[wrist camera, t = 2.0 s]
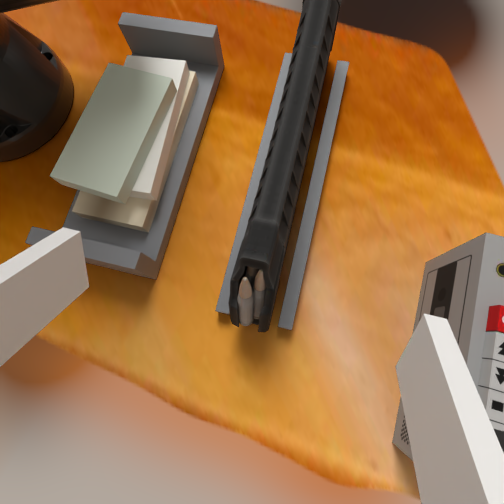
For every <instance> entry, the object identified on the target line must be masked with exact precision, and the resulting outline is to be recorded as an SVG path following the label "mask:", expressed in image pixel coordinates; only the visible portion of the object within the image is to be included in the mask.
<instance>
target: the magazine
mask: <svg viewBox="0 0 504 504" xmlns="http://www.w3.org/2000/svg"><path fill="white" fill-rule="evenodd" d="M340 5H341V0H303V8H302V13H301V18H300V22H299V26H298V30H297V36H296V40H295V44H294V48H293V53H292V57H291V62H290V65H289V68H288V69H289V70H288V74H287V78H286V82H285V85H284V90H283V94H282V98H281V102H280V105H279V110H278V114H277V118H276V121H275V126H274V130H273V134H272V138H271V141H270V144H269V145H270V146H269V149H268V153H267V157H266V159H265V164H264V168H263V172H262V175H261V178H260V181H259V186H258V190H257V193H256V197H255V199H254V204H253V207H252V211H251V214H250V217H249V220H248V225H247V228H246V232H245V235H244V238H243V240H242V243H241V246H240V250H239V253H238V256H237V260H236V263H235V266H234V270H233V273H232V277H231V280H230V297H229V302H228V304H229V311H230V318H231V322H232V324H234V325H236V326H238V327H239V322H240V324H241V325H243V326H249V325H251V324H256V325H259V329H258V332H266V331H267V330H268V329H269V325H270V321H271V316H272V312H273V308H274V303H275V299H276V295H277V290H278V285H279V280H280V275H281V270H282V266H283V261H284V257H285V253H286V248H287V244H288V239H289V235H290V231H291V226H292V222H293V217H294V213H295V208H296V204H297V200H298V195H299V191H300V186H301V182H302V177H303V173H304V168H305V164H306V159H307V155H308V150H309V146H310V141H311V137H312V132H313V128H314V123H315V119H316V114H317V110H318V105H319V100H320V96H321V91H322V87H323V82H324V78H325V73H326V69H327V64H328V60H329V55H330V52H331V50H332V46H333V41H334V35H335V30H336V25H337V20H338V14H339V9H340Z"/></svg>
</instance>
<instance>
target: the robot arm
mask: <svg viewBox="0 0 504 504" xmlns="http://www.w3.org/2000/svg"><path fill="white" fill-rule="evenodd" d="M54 1H58V0H0V162H3V161H9V160H13V159H16V158H19V157H22V156H25V155H27V154H29V153H31V152H33V151H35V150H36V149H38V148H39V147H41V146H42V145H44V144H45V143H46V142H47V141H48V140H50V139H51V138H52V137H53V136H54V135H55V134H56V132H57V131H58V130H59V129H60V127H61V126H62V125H63V123H64V122H65V120H66V118H67V116H68V114H69V111H70V109H71V105H72V101H73V82H72V79H71V76H70V73H69V71H68V70H67V68H66V67H65V65H64V64H63V63H62V61H61V60H60V59H59V58H58V56H57V55H56V54H55V52H54V51H53V50H52V49H51V48H50V47H49V46H48V45H47V44H45V43H44V42H43V41H41V40H40V39H39V38H37V37H36V36H34V35H33V34H32V33H30V32H29V31H28V30H26V29H25V28H23V27H22V26H21V25H19V24H18V23H16V22H15V21H14V20H12V19H11V18H10V17H8V16H7V15H5V14H4V13H3V12H8V11H12V10H17V9H21V8H26V7H31V6H35V5H40V4H45V3H49V2H54ZM88 287H89V282H88V276H87V269H86V263H85V257H84V251H83V245H82V238H81V232H80V231H76V230H72V229H68V228H64V227H63V228H61V229H59V230H58V231H56V232H54V233H53V234H51V235H49V236H48V237H46V238H44V239H43V240H41V241H39V242H38V243H36V244H34V245H33V246H31V247H29V248H28V249H26V250H24V251H23V252H21V253H19V254H18V255H16V256H14V257H13V258H11V259H9V260H8V261H6V262H4V263H3V264H1V265H0V367H1V366H2V365H3V364H4V363H5V362H6V361H7V360H8V359H10V357H12V356H13V355H14V354H15V353H16V352H17V351H18V350H19V349H21V348H22V347H23V346H24V345H25V344H26V343H27V342H28V341H30V340H31V339H32V338H33V337H34V336H35V335H36V334H37V333H38V332H40V331H41V330H42V329H43V328H44V327H45V326H46V325H47V324H48V323H50V322H51V321H52V320H53V319H54V318H55V317H56V316H57V315H58V314H60V313H61V312H62V311H63V310H64V309H65V308H66V307H67V306H68V305H70V304H71V303H72V302H73V301H74V300H75V299H76V298H77V297H78V296H80V295H81V294H82V293H83V292H84V291H85V290H86V289H87V288H88ZM396 372H397V377H398V383H399V388H400V393H401V398H402V404H403V409H404V414H405V420H406V425H407V430H408V436H409V441H410V446H411V452H412V457H413V462H414V468H415V473H416V478H417V484H418V489H419V494H420V500H421V504H504V431H501V430H497V429H494V428H493V427H492V424H491V422H490V420H489V417H488V415H487V412H486V410H485V408H484V405H483V403H482V401H481V398H480V396H479V394H478V391H477V389H476V386H475V384H474V382H473V379H472V377H471V375H470V372H469V370H468V368H467V365H466V363H465V361H464V358H463V356H462V353H461V351H460V349H459V346H458V344H457V342H456V339H455V337H454V335H453V332H452V330H451V327H450V325H449V323H448V320H447V319H445V318H441V317H437V316H433V315H428V314H423V316H422V318H421V320H420V321H419V323H418V325H417V327H416V329H415V331H414V333H413V335H412V336H411V338H410V340H409V342H408V344H407V346H406V348H405V350H404V352H403V353H402V355H401V357H400V359H399V361H398V363H397V365H396Z"/></svg>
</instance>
